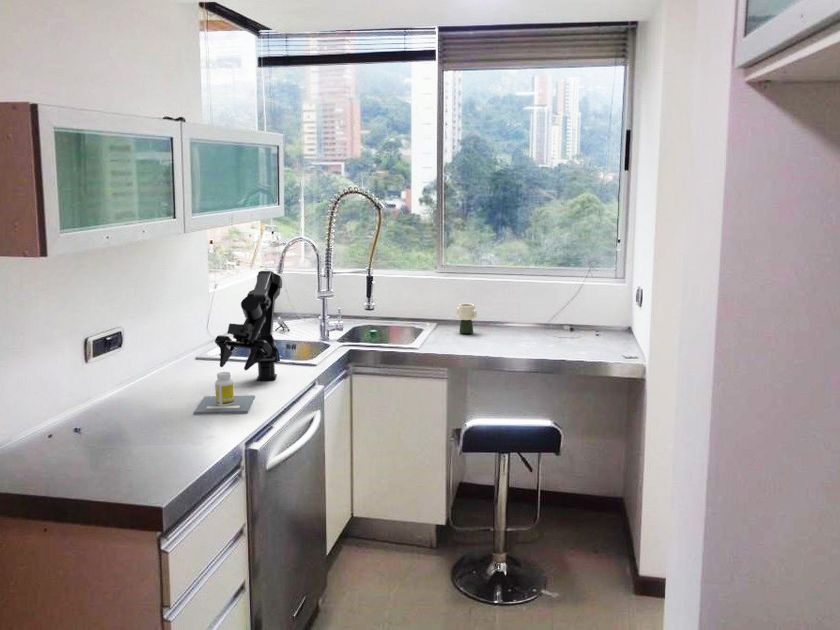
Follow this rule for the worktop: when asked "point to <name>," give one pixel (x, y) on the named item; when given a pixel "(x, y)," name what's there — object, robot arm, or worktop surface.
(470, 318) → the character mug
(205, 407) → the letter board
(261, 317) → the robot arm
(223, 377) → the supplement bottle
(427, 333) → the worktop surface
